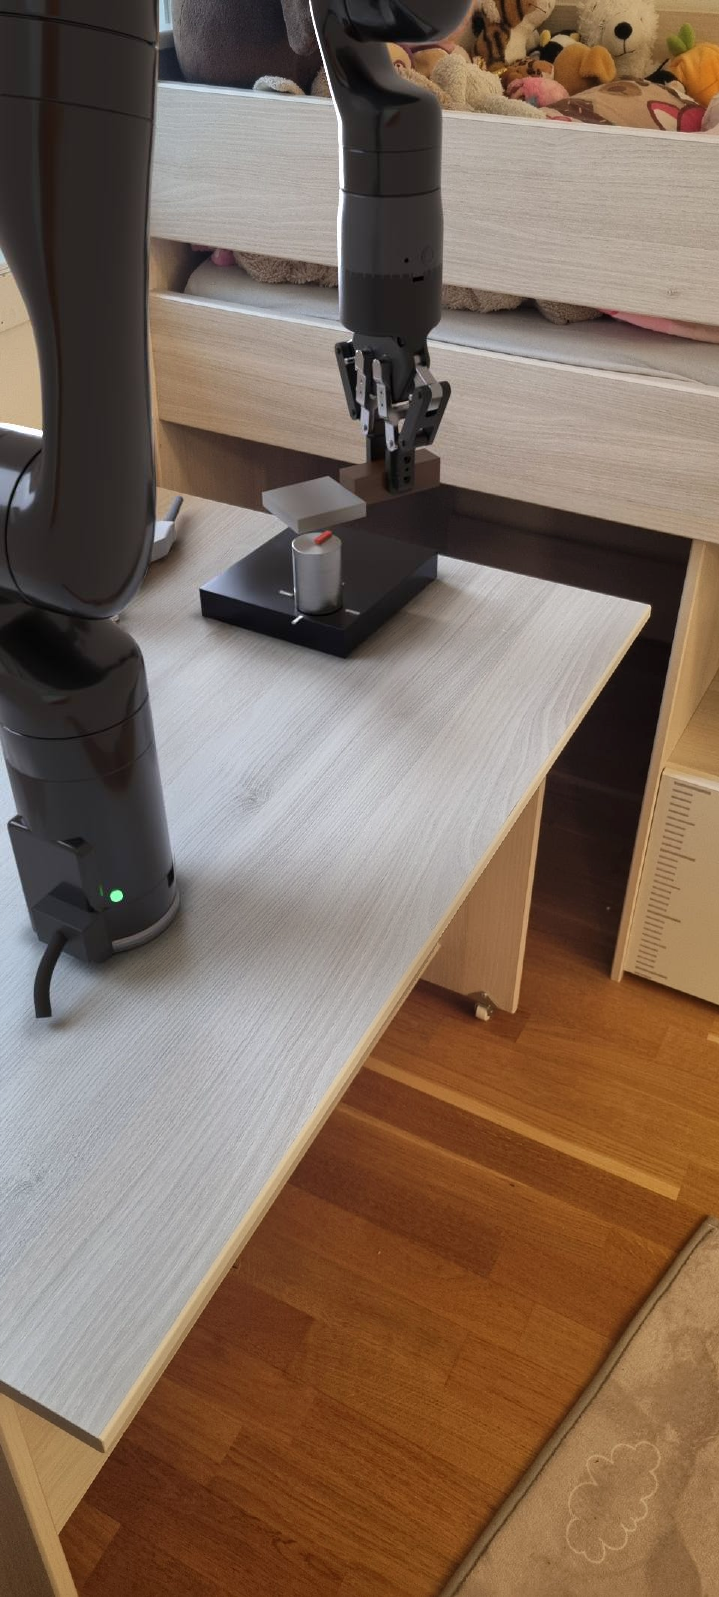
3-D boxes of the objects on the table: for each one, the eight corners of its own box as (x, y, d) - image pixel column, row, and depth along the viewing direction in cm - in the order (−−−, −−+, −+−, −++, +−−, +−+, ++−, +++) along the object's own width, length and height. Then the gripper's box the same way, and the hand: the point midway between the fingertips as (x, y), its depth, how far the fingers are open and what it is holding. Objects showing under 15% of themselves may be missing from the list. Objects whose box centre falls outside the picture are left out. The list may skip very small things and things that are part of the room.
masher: (412, 468, 100) (412, 440, 98) (452, 493, 96) (453, 464, 94) (262, 506, 94) (260, 477, 93) (298, 534, 90) (296, 504, 89)
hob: (337, 665, 107) (336, 634, 105) (193, 622, 114) (190, 592, 112) (437, 577, 120) (438, 548, 118) (303, 543, 127) (302, 515, 125)
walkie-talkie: (153, 595, 118) (190, 509, 134) (148, 554, 115) (186, 471, 131) (66, 593, 118) (113, 508, 134) (58, 552, 116) (107, 470, 131)
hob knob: (326, 619, 108) (324, 555, 104) (285, 607, 109) (282, 544, 105) (351, 598, 110) (350, 535, 107) (311, 587, 112) (309, 525, 108)
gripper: (298, 242, 89) (308, 466, 99) (396, 286, 79) (395, 528, 90) (384, 228, 92) (385, 447, 102) (489, 269, 82) (478, 506, 93)
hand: (390, 484), depth 96 cm, fingers closed on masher, 2 cm apart
